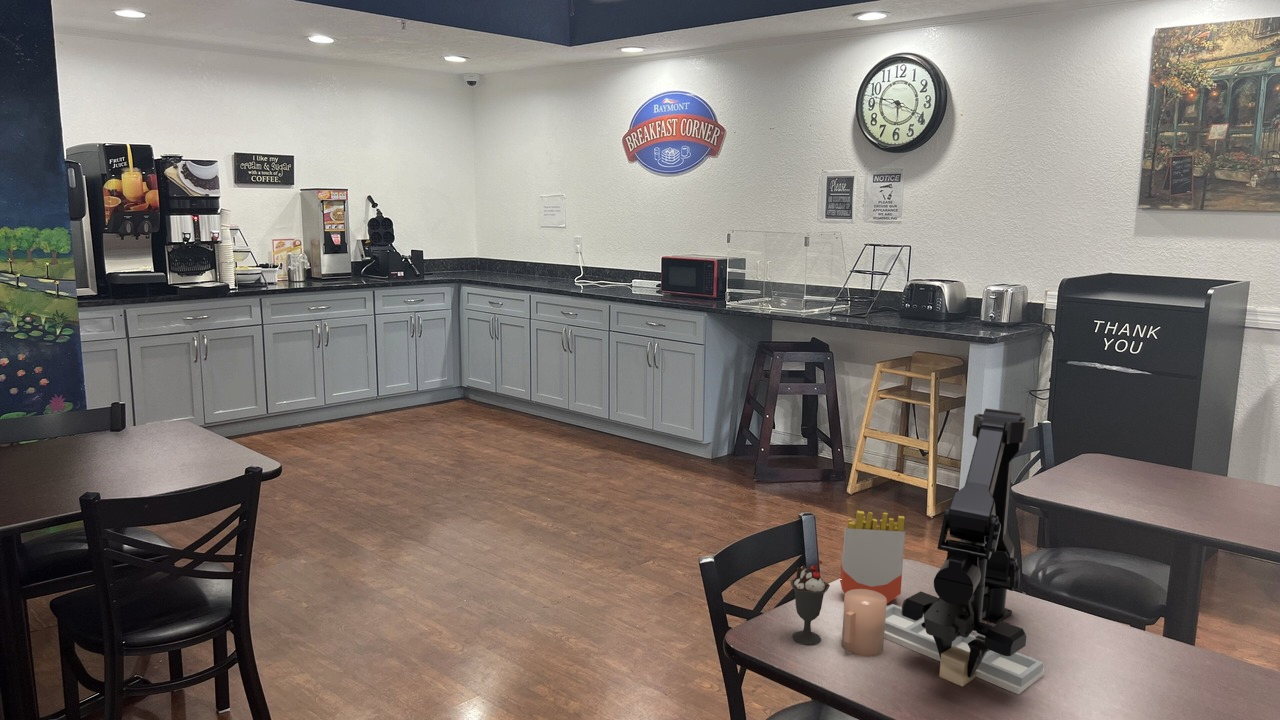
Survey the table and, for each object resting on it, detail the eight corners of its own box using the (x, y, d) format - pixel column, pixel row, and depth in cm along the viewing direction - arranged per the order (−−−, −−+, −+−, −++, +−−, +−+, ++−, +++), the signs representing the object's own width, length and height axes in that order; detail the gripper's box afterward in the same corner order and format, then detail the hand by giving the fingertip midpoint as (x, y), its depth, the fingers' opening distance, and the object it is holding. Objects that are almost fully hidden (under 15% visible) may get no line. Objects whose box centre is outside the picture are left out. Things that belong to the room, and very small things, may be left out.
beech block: (951, 668, 151) (953, 645, 150) (974, 678, 148) (976, 655, 147) (939, 676, 148) (941, 653, 147) (962, 686, 145) (964, 663, 144)
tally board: (893, 615, 169) (894, 602, 169) (1043, 675, 149) (1045, 660, 149) (865, 630, 163) (866, 617, 163) (1018, 694, 143) (1019, 679, 143)
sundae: (826, 649, 156) (831, 566, 153) (786, 645, 157) (790, 563, 155) (826, 631, 163) (831, 552, 160) (788, 627, 164) (792, 548, 161)
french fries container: (839, 592, 179) (844, 504, 176) (895, 595, 178) (902, 507, 174) (841, 602, 174) (847, 512, 171) (899, 606, 173) (906, 515, 170)
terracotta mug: (856, 632, 162) (860, 585, 161) (891, 647, 157) (894, 598, 156) (828, 648, 157) (831, 598, 155) (863, 663, 152) (866, 613, 150)
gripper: (885, 575, 146) (879, 665, 149) (997, 616, 133) (988, 714, 136) (923, 557, 154) (916, 643, 157) (1032, 594, 140) (1022, 688, 143)
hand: (957, 671), depth 148 cm, fingers closed on beech block, 4 cm apart
